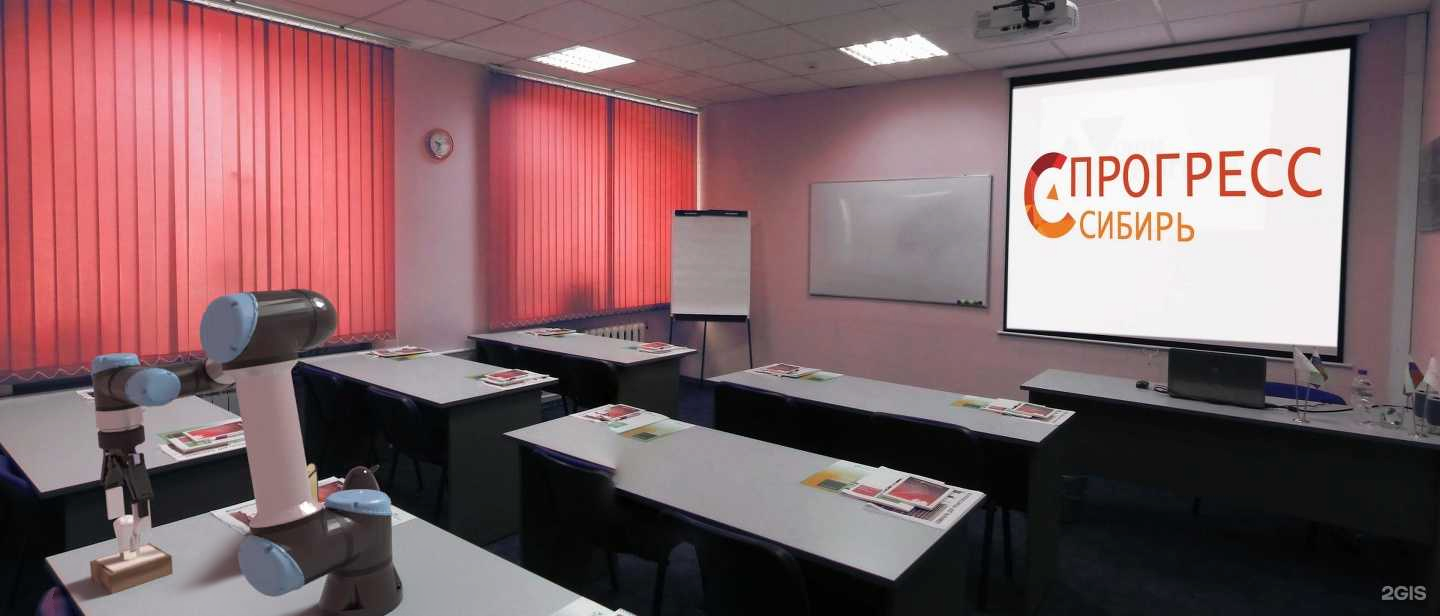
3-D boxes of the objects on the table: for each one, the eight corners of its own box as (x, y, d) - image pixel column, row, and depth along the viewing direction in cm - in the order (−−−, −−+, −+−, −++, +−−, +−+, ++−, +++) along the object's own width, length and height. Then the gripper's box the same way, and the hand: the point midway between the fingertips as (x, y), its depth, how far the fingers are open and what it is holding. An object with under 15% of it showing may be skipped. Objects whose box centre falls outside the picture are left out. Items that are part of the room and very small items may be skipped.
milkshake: (131, 563, 149) (127, 518, 148) (110, 560, 150) (106, 515, 149) (152, 554, 153) (149, 509, 152) (132, 551, 154) (128, 507, 153)
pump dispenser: (392, 522, 182) (390, 465, 180) (353, 536, 173) (350, 476, 171) (369, 513, 187) (367, 457, 186) (330, 526, 179) (327, 468, 177)
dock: (172, 573, 154) (171, 554, 153) (112, 593, 145) (110, 574, 144) (150, 560, 159) (149, 541, 159) (91, 579, 150) (89, 560, 150)
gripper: (168, 431, 145) (176, 530, 147) (118, 414, 158) (127, 506, 160) (123, 440, 139) (132, 544, 141) (75, 422, 152) (84, 517, 154)
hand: (129, 524), depth 151 cm, fingers open, 13 cm apart
